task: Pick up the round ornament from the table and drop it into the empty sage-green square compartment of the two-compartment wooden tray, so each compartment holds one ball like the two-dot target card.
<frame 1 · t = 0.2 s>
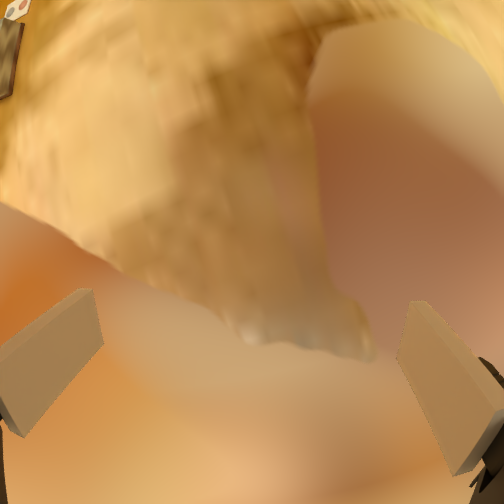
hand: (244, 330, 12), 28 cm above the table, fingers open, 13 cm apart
target card: (17, 9, 31), on the table
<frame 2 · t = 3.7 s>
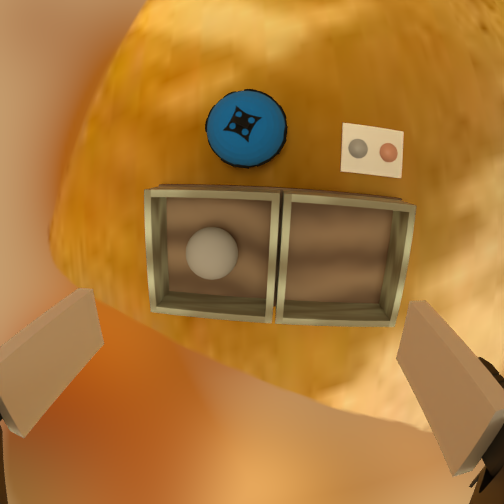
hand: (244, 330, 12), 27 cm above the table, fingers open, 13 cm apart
two-compartment wooden tray: (278, 248, 39), on the table
target card: (372, 150, 34), on the table
ornament: (250, 132, 35), on the table
ball: (216, 246, 38), point 1 cm above the table, touching two-compartment wooden tray
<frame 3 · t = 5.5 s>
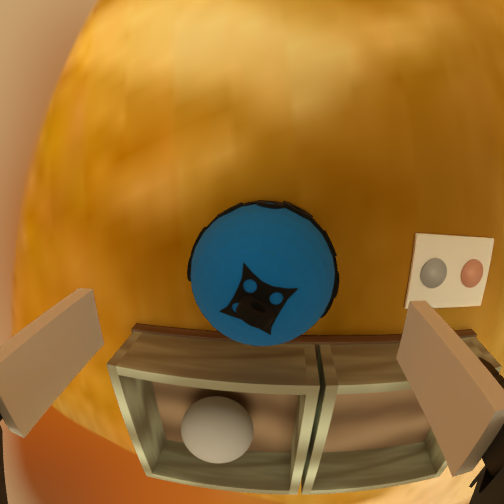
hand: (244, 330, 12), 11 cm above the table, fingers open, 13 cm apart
two-compartment wooden tray: (306, 403, 26), on the table
target card: (451, 271, 21), on the table
ornament: (267, 253, 22), on the table
ball: (223, 406, 25), point 1 cm above the table, touching two-compartment wooden tray
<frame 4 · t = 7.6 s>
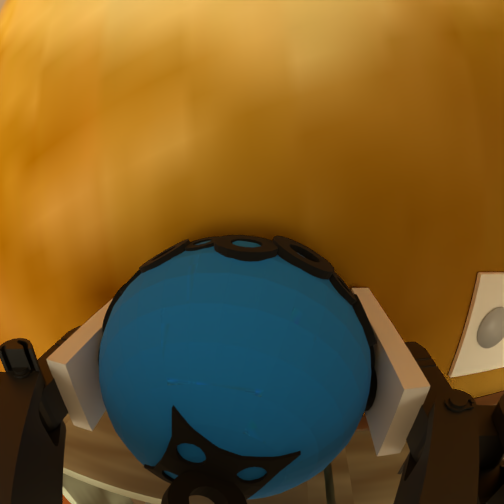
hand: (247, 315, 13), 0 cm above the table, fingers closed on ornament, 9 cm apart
two-compartment wooden tray: (306, 484, 17), on the table
ornament: (248, 310, 13), on the table, touching gripper
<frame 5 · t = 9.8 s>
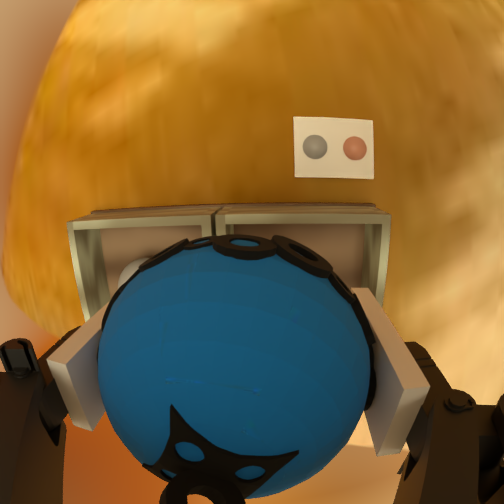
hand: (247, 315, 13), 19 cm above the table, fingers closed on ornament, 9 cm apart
two-compartment wooden tray: (227, 275, 33), on the table
target card: (334, 147, 29), on the table
ornament: (247, 309, 13), point 18 cm above the table, touching gripper
ball: (157, 277, 32), point 1 cm above the table, touching two-compartment wooden tray
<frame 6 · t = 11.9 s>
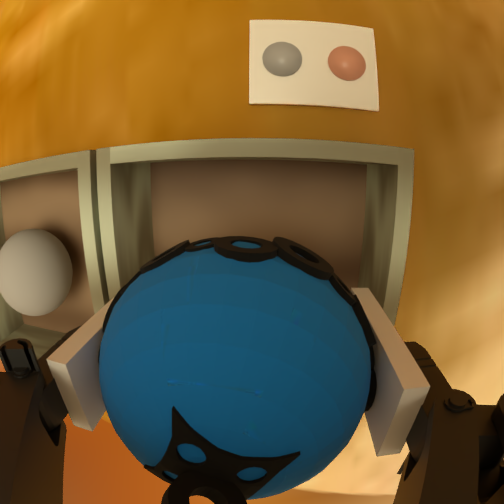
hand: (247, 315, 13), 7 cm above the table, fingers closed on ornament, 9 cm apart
two-compartment wooden tray: (147, 259, 21), on the table
target card: (314, 62, 16), on the table
ornament: (248, 310, 14), point 7 cm above the table, touching gripper
ball: (57, 259, 20), point 1 cm above the table, touching two-compartment wooden tray
when the fingers open (7 cm above the table, at t = 12.4 s): ornament drops 6 cm, resting on two-compartment wooden tray.
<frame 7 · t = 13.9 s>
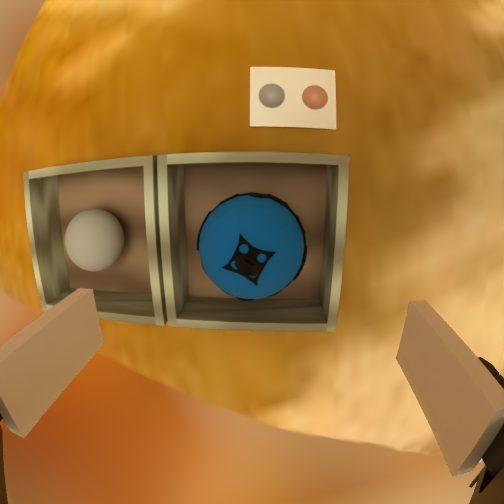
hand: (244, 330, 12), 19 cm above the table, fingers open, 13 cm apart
two-compartment wooden tray: (178, 230, 30), on the table
target card: (293, 97, 26), on the table
ornament: (254, 234, 29), point 1 cm above the table, touching two-compartment wooden tray
ball: (108, 233, 30), point 1 cm above the table, touching two-compartment wooden tray
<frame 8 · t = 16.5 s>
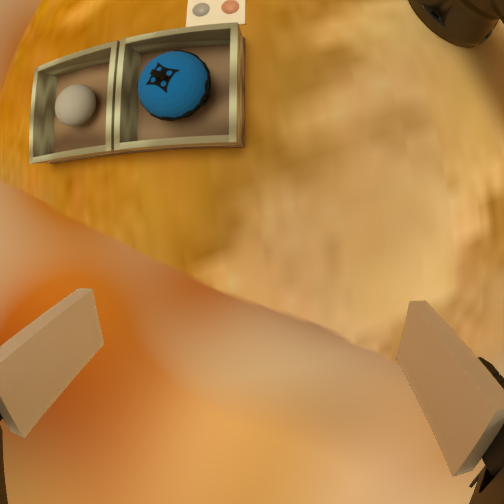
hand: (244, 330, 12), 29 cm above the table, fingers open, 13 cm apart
two-compartment wooden tray: (134, 100, 36), on the table
target card: (216, 9, 32), on the table
ornament: (185, 93, 35), point 1 cm above the table, touching two-compartment wooden tray
ball: (86, 107, 36), point 1 cm above the table, touching two-compartment wooden tray
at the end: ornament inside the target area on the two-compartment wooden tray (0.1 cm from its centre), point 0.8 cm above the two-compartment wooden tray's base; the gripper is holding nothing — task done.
